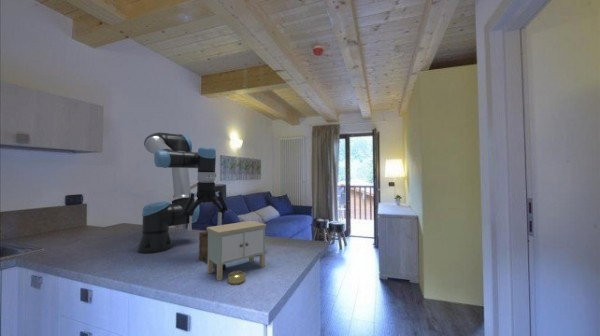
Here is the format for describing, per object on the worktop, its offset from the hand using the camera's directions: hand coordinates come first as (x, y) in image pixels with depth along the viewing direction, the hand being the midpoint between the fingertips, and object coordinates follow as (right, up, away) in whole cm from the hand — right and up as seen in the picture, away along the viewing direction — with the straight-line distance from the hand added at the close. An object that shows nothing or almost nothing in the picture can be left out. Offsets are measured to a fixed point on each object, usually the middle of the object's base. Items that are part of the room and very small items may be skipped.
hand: (205, 228), depth 110 cm
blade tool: (+6, -14, -6) cm, 16 cm away
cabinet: (+18, -14, -12) cm, 25 cm away
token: (+20, -13, -23) cm, 33 cm away
